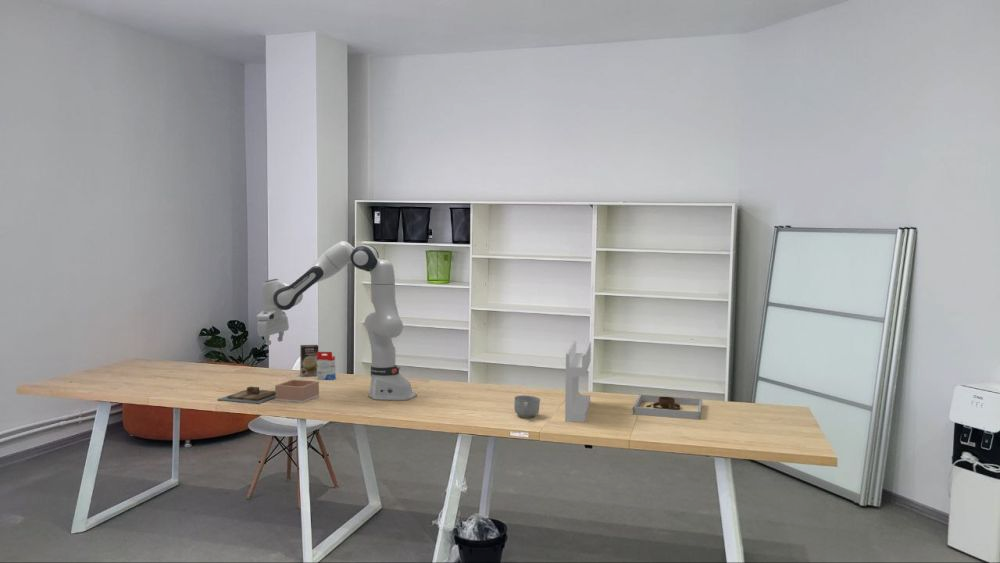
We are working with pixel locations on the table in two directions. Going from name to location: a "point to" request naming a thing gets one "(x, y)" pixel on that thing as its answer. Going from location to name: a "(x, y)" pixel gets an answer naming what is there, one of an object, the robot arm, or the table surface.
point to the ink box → (325, 366)
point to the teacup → (526, 406)
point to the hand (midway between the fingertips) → (274, 343)
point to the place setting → (666, 403)
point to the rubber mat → (247, 400)
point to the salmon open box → (297, 391)
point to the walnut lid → (252, 394)
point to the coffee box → (308, 360)
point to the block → (576, 384)
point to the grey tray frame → (668, 412)
